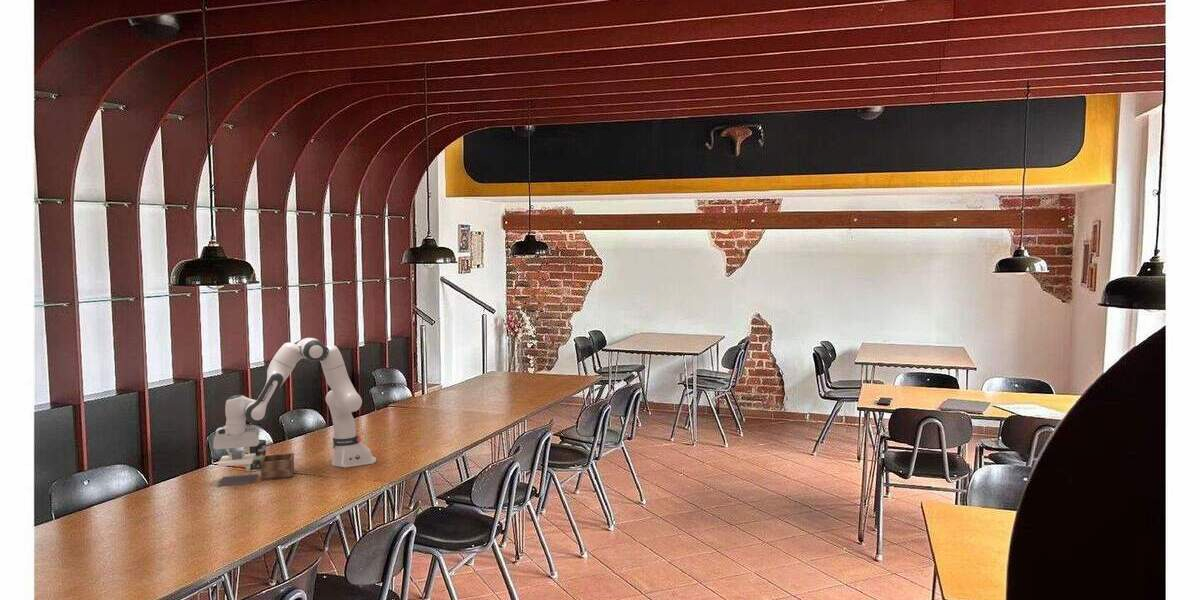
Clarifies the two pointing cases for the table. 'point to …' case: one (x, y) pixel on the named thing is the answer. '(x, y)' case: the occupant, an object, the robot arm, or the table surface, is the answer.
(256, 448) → the coffee can
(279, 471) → the storage box
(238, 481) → the mat
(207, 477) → the table surface
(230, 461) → the lid
